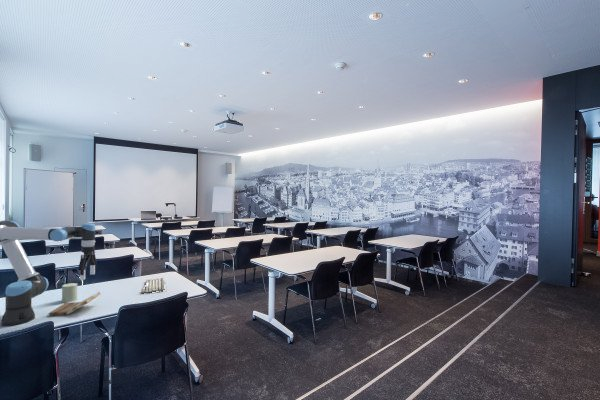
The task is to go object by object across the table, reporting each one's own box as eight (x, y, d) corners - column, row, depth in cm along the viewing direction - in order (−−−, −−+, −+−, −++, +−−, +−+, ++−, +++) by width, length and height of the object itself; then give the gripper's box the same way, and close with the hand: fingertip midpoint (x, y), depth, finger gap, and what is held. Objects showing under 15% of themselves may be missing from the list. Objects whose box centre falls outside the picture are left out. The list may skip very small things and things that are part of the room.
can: (59, 302, 211) (59, 286, 211) (65, 298, 220) (65, 282, 220) (73, 301, 214) (74, 285, 214) (79, 297, 223) (79, 282, 223)
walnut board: (48, 316, 188) (49, 312, 188) (65, 305, 206) (65, 302, 206) (64, 315, 190) (64, 311, 190) (79, 305, 208) (79, 301, 208)
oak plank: (66, 314, 190) (65, 312, 190) (81, 304, 208) (80, 302, 208) (87, 303, 193) (86, 300, 192) (100, 294, 210) (99, 291, 210)
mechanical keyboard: (142, 282, 266) (142, 279, 266) (165, 280, 275) (165, 276, 275) (141, 295, 233) (141, 291, 233) (167, 292, 242) (167, 288, 241)
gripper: (85, 249, 189) (84, 281, 189) (102, 243, 213) (102, 272, 214) (72, 249, 188) (71, 282, 188) (91, 243, 212) (90, 272, 212)
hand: (87, 276), depth 201 cm, fingers open, 12 cm apart
